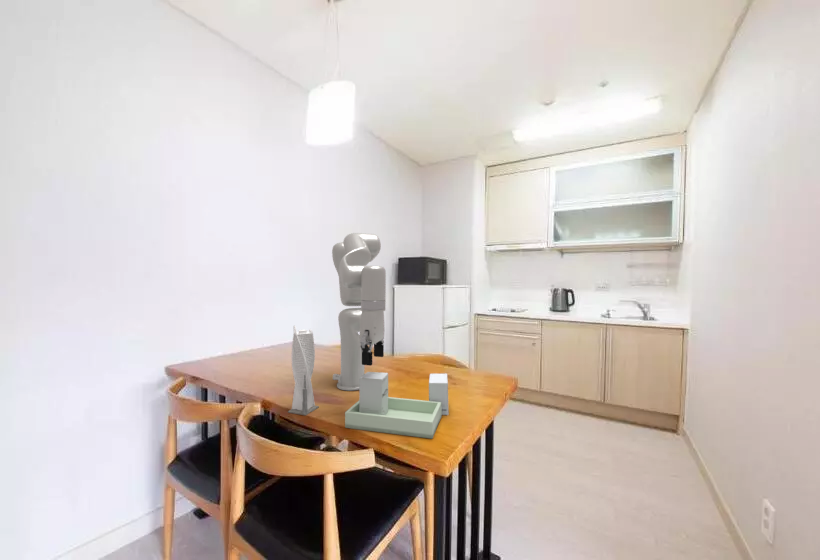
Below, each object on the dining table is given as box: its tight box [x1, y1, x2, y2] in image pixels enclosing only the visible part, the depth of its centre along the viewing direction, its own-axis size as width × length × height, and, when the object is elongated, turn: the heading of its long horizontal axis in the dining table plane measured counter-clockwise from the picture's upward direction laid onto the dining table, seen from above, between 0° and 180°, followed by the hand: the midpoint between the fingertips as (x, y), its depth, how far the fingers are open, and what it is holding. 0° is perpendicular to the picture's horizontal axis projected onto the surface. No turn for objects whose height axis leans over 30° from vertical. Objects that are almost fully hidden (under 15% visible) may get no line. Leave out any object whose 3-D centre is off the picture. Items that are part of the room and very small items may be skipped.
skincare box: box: [428, 373, 450, 416], centre depth 110 cm, size 10×6×10 cm, turn 174°
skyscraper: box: [287, 325, 320, 416], centre depth 110 cm, size 8×8×28 cm
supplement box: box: [358, 371, 389, 415], centre depth 102 cm, size 7×7×13 cm
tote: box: [344, 396, 443, 440], centre depth 99 cm, size 26×15×4 cm, turn 75°
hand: (373, 360), depth 102 cm, fingers open, 9 cm apart
